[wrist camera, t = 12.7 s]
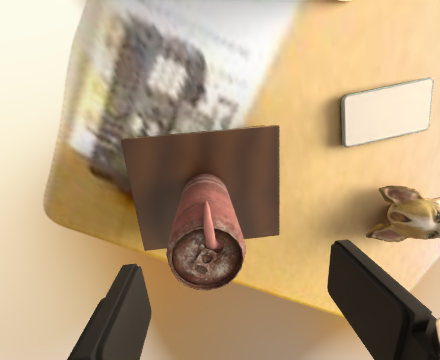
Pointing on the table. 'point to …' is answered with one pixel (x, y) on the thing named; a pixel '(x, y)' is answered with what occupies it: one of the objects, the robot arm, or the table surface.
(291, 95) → the table surface
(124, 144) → the side table
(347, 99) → the smartphone
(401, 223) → the ceramic sculpture
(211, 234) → the can
